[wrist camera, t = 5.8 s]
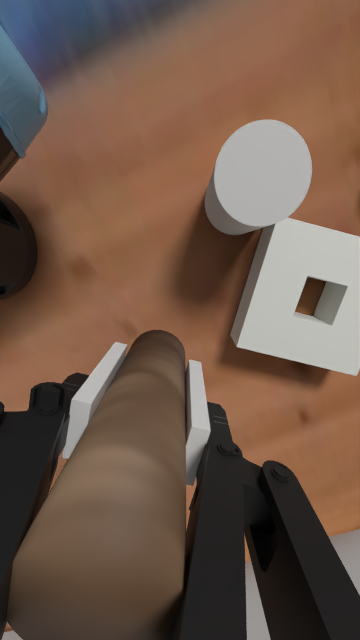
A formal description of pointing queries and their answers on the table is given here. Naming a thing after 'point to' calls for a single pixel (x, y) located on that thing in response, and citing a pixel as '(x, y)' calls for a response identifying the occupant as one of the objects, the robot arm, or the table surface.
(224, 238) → the table surface
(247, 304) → the socket block
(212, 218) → the grey cylinder peg
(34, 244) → the robot arm
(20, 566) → the walnut dowel
